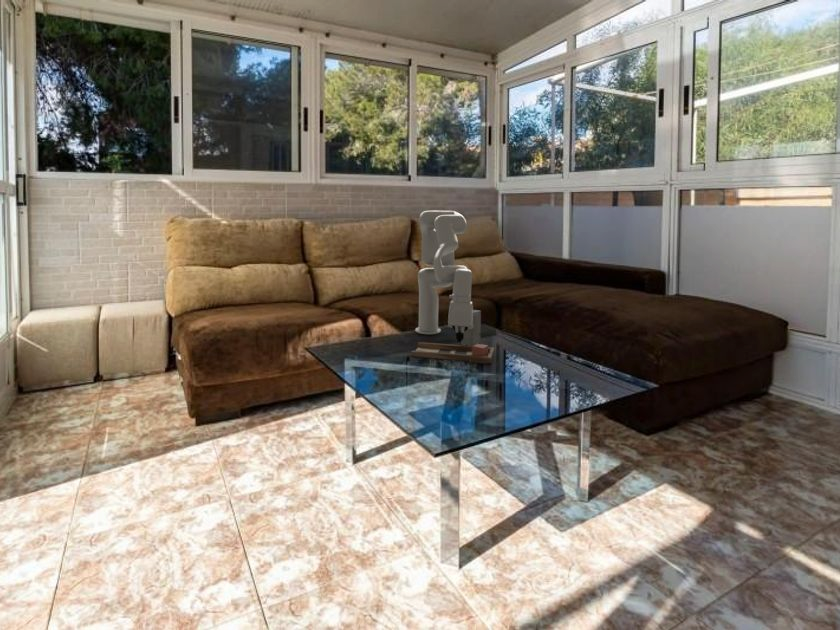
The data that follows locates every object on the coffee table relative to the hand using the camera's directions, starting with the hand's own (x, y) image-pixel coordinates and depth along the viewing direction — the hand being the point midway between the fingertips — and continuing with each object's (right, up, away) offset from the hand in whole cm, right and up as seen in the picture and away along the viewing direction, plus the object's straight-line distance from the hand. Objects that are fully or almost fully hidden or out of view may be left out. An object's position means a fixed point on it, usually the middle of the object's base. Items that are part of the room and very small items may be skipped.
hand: (459, 340), depth 235 cm
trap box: (-3, -6, +1) cm, 7 cm away
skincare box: (+6, -3, +18) cm, 20 cm away
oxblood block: (+8, -7, -3) cm, 11 cm away
